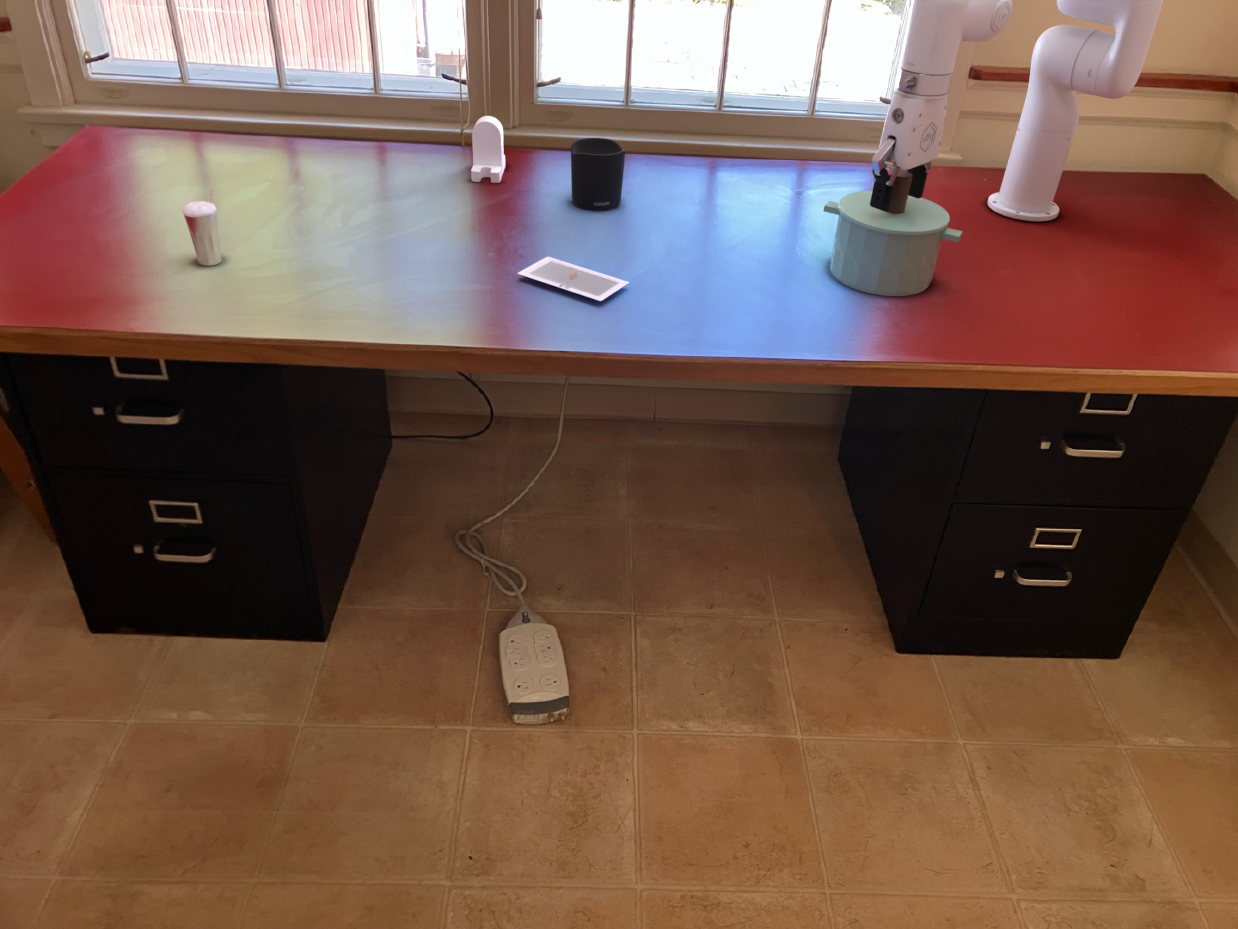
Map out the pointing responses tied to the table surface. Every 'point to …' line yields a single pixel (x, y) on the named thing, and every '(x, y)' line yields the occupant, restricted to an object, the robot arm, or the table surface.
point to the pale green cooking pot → (884, 257)
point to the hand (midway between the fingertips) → (896, 201)
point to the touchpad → (573, 278)
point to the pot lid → (896, 211)
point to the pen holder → (597, 173)
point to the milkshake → (203, 230)
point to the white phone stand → (488, 150)
